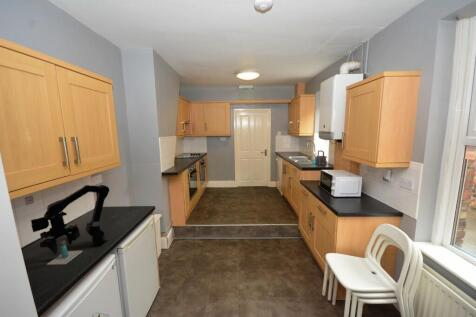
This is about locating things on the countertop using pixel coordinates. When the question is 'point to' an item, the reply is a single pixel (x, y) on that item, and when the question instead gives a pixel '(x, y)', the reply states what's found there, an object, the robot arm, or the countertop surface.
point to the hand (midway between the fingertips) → (63, 249)
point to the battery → (76, 232)
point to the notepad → (61, 261)
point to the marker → (63, 249)
